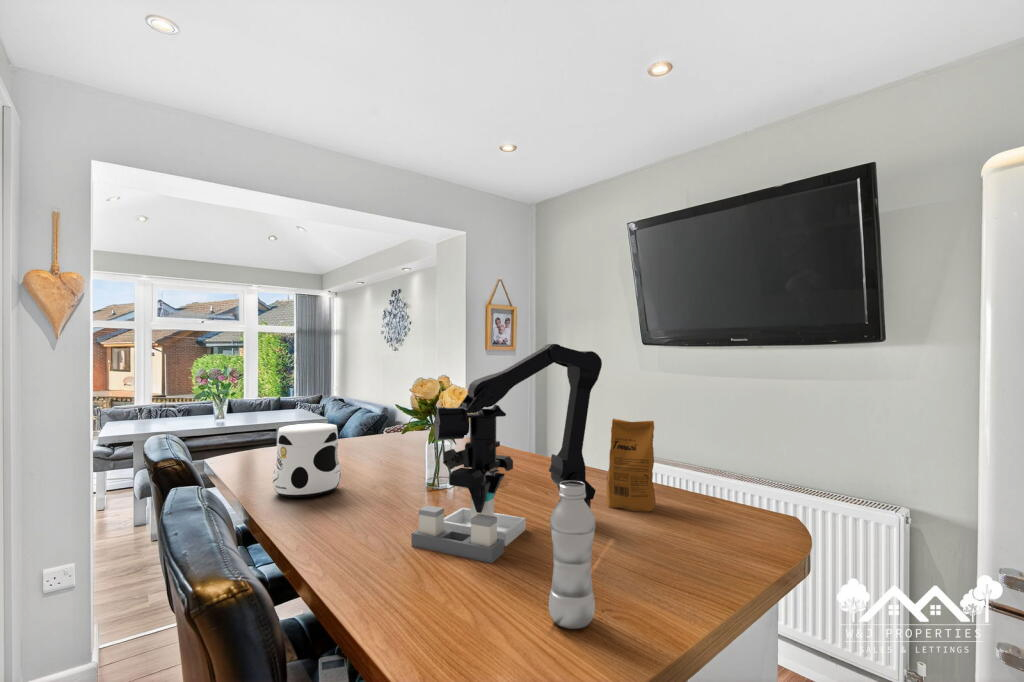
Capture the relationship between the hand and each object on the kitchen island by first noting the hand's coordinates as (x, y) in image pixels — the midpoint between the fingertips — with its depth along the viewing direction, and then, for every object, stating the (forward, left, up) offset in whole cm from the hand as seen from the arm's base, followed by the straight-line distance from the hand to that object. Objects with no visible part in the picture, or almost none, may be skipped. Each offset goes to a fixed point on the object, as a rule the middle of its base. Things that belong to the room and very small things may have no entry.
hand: (482, 510), depth 104 cm
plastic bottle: (-28, +25, -5) cm, 38 cm away
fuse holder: (0, +11, -5) cm, 12 cm away
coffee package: (-25, -33, -5) cm, 42 cm away
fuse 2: (-6, +11, -4) cm, 13 cm away
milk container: (+58, -5, -5) cm, 58 cm away
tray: (0, 0, -5) cm, 5 cm away
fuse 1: (+6, +11, -4) cm, 13 cm away
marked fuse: (0, 0, -4) cm, 4 cm away
